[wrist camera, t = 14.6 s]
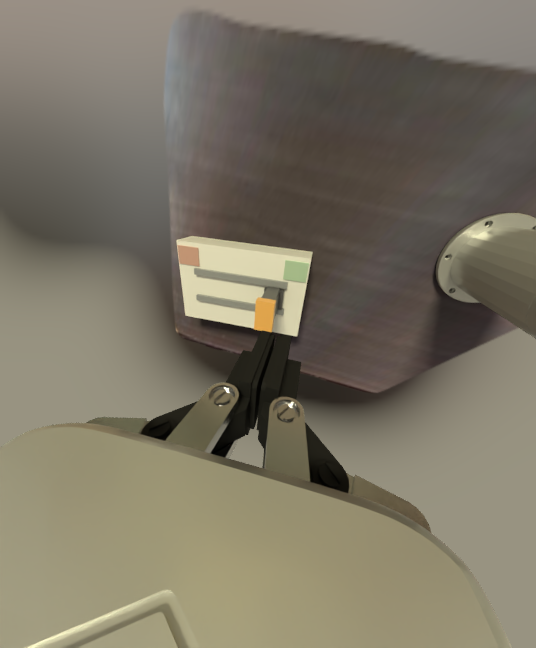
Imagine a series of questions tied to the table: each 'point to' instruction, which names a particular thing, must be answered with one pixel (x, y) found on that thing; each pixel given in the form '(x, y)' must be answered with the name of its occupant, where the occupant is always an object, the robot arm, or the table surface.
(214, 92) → the table surface
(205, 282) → the switch box
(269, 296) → the handle
